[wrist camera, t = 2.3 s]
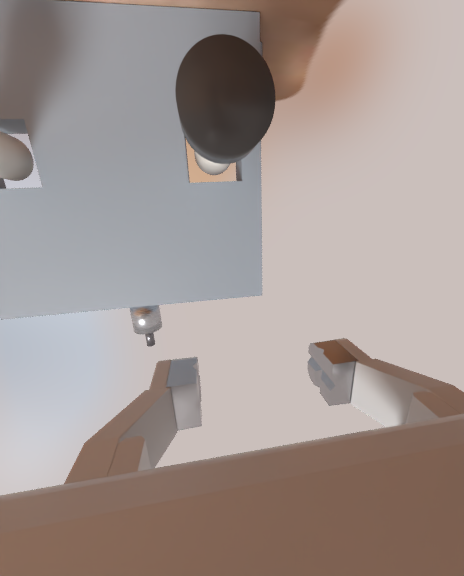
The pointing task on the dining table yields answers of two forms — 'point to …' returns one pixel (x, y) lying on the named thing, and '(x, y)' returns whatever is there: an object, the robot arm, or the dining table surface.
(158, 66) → the mount
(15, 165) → the knob
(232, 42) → the knob
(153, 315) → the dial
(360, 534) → the robot arm
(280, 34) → the dining table surface
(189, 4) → the dining table surface
